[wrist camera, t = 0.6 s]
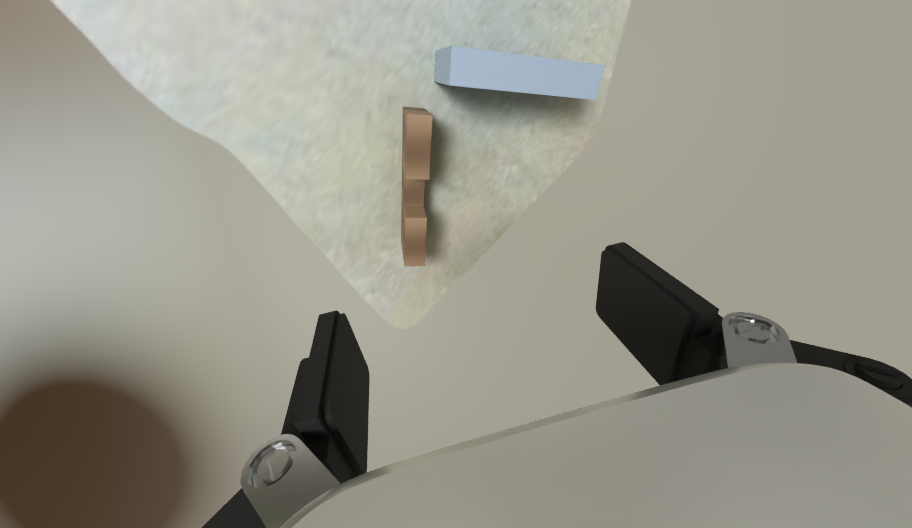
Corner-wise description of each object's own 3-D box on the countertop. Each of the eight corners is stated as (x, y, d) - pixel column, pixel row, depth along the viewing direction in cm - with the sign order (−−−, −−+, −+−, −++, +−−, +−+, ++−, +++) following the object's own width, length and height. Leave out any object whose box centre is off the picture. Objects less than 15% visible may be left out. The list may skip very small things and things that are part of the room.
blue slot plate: (434, 81, 30) (449, 85, 24) (435, 50, 29) (452, 45, 23) (553, 93, 33) (595, 100, 27) (559, 65, 32) (604, 65, 25)
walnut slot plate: (403, 106, 31) (407, 113, 26) (424, 108, 31) (432, 115, 27) (401, 241, 38) (404, 266, 33) (418, 241, 38) (424, 265, 33)
